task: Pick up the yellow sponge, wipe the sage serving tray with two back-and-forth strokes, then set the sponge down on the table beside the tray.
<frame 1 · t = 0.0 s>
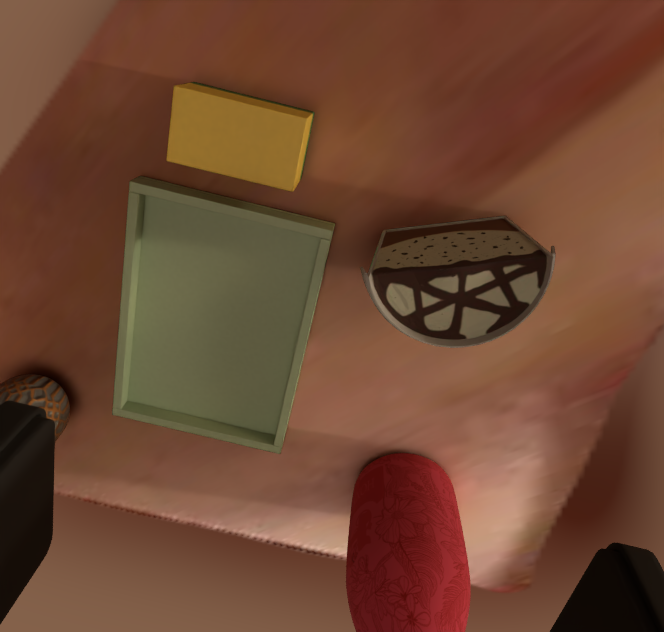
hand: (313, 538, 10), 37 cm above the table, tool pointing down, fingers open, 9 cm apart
wine bottle: (403, 485, 56), on the table
sponge: (248, 131, 43), on the table
vase: (46, 393, 55), on the table
tray: (218, 320, 50), on the table
food container: (445, 259, 46), on the table
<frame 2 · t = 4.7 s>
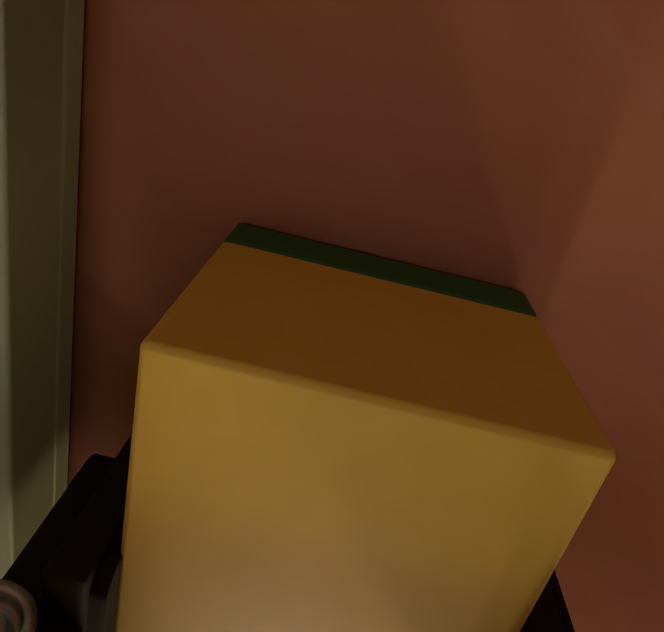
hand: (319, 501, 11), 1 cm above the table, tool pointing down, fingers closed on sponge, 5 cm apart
sponge: (324, 461, 12), on the table, touching gripper
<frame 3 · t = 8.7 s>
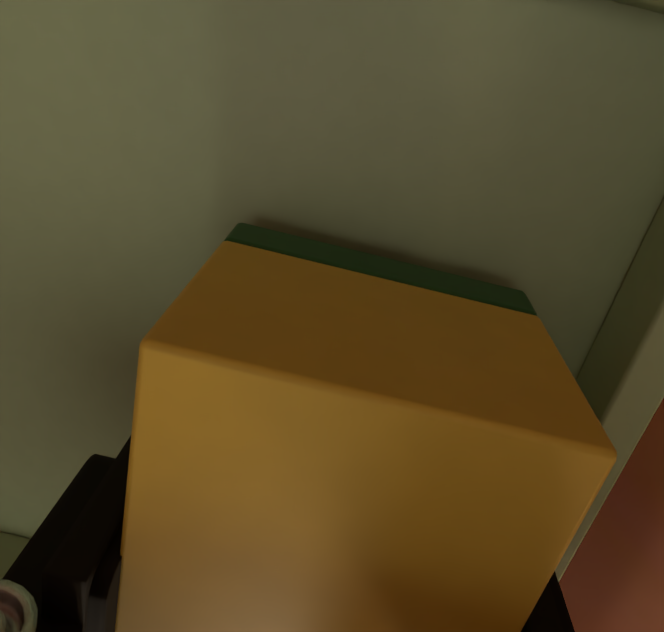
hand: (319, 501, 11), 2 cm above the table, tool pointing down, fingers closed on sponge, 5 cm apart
sponge: (324, 461, 12), point 1 cm above the table, touching gripper
tray: (84, 282, 12), on the table
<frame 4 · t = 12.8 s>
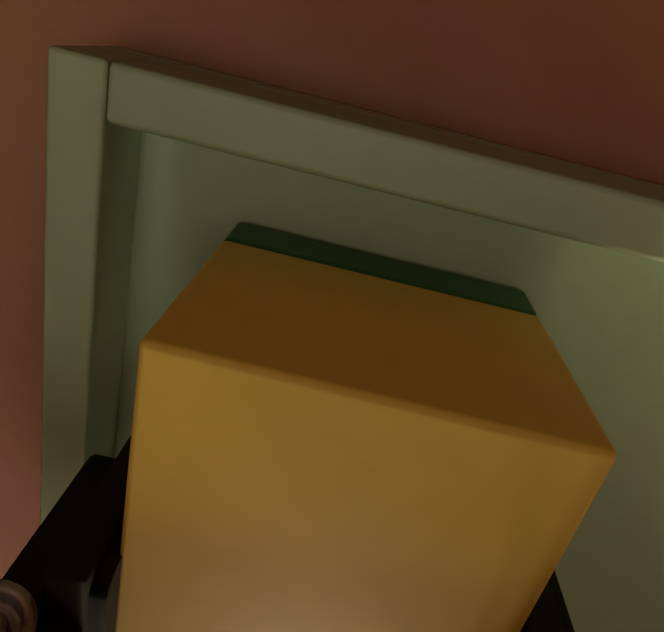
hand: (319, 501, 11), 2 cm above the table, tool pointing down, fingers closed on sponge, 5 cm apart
sponge: (324, 461, 12), point 1 cm above the table, touching gripper
tray: (566, 542, 13), on the table
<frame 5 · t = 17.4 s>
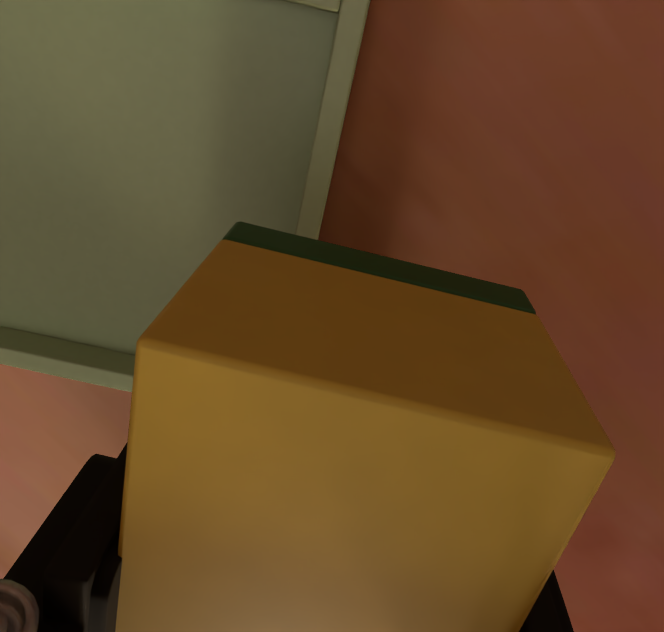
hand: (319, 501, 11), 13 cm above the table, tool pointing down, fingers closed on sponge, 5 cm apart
sponge: (323, 460, 12), point 12 cm above the table, touching gripper
tray: (34, 159, 21), on the table
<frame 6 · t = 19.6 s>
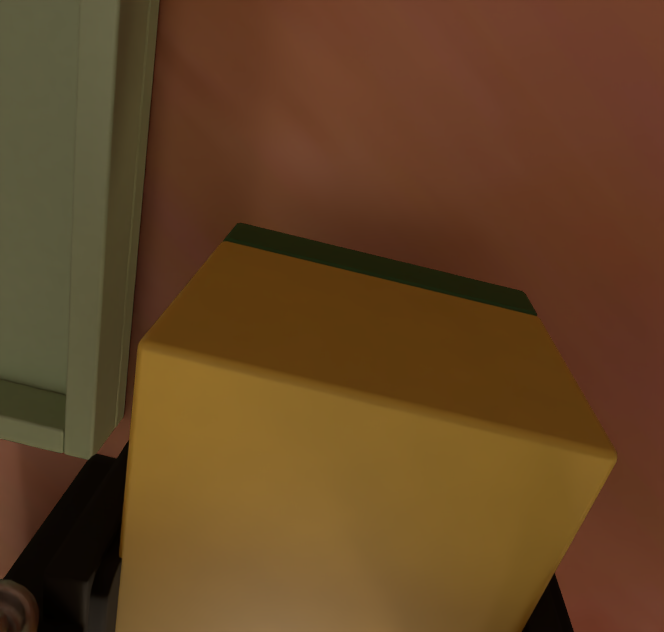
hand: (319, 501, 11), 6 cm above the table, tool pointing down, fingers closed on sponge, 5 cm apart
sponge: (324, 461, 12), point 5 cm above the table, touching gripper
when the fingers open (1 cm above the table, at t = 21.2 s): sponge stays where it is, on the table.
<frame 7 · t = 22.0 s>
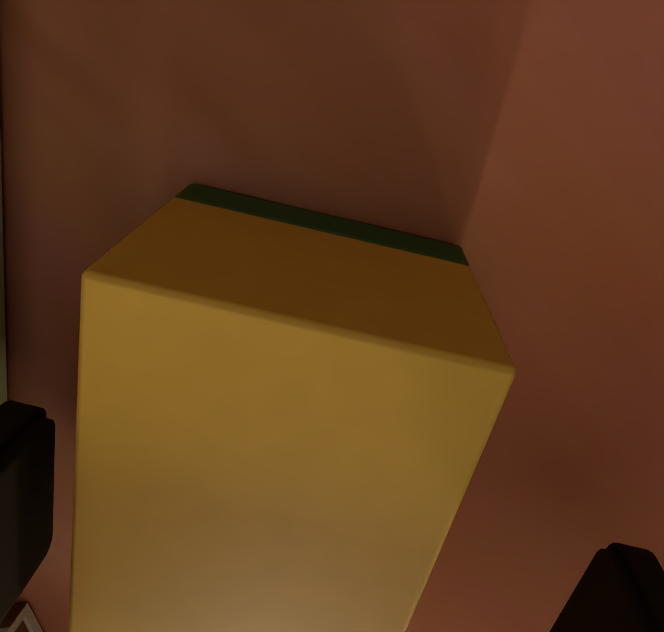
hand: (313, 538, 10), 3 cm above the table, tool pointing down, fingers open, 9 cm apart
sponge: (282, 415, 12), on the table
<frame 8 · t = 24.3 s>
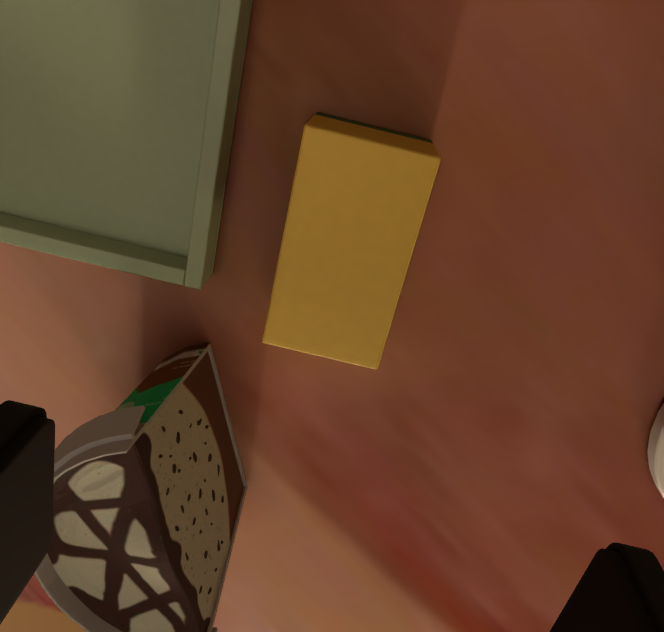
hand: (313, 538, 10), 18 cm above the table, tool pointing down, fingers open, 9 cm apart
sponge: (349, 226, 26), on the table
food container: (177, 420, 32), on the table
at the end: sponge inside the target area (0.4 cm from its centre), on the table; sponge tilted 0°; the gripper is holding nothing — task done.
